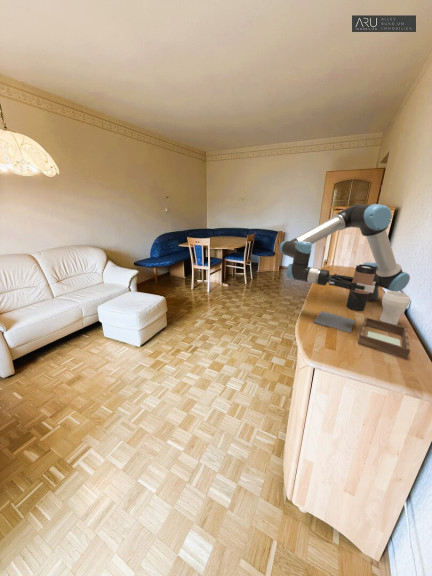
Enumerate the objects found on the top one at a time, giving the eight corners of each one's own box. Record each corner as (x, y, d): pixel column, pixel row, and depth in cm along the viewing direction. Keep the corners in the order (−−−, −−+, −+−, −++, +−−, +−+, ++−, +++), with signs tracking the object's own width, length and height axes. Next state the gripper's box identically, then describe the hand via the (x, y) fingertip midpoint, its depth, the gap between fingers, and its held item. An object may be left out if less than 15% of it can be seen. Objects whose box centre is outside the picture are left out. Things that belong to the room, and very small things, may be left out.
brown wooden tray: (362, 325, 110) (365, 316, 109) (403, 336, 102) (407, 327, 100) (357, 344, 94) (360, 335, 92) (406, 360, 85) (410, 350, 83)
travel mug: (367, 312, 100) (380, 269, 94) (348, 310, 102) (360, 267, 95) (360, 306, 108) (372, 265, 101) (343, 304, 109) (353, 263, 102)
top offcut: (367, 333, 99) (368, 330, 98) (398, 342, 93) (399, 339, 92) (366, 341, 93) (367, 338, 92) (399, 351, 87) (400, 348, 86)
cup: (379, 323, 113) (388, 295, 108) (373, 315, 122) (381, 289, 117) (404, 328, 109) (415, 299, 104) (397, 319, 119) (406, 292, 114)
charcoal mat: (321, 312, 123) (321, 310, 122) (354, 321, 114) (355, 320, 114) (313, 322, 110) (313, 321, 110) (350, 334, 102) (350, 332, 101)
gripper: (321, 279, 120) (372, 289, 107) (312, 288, 104) (370, 302, 92) (324, 265, 117) (377, 274, 105) (315, 273, 101) (376, 284, 89)
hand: (374, 287), depth 98 cm, fingers closed on travel mug, 7 cm apart
